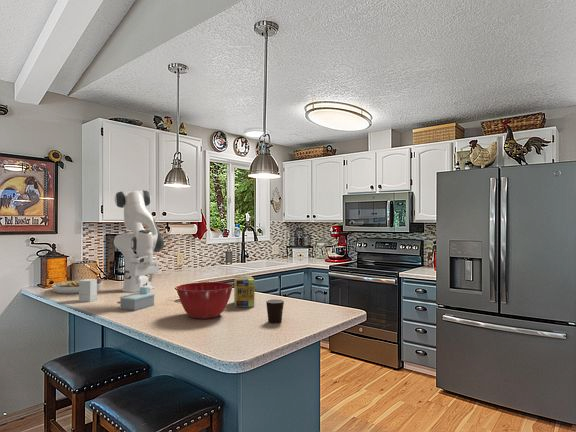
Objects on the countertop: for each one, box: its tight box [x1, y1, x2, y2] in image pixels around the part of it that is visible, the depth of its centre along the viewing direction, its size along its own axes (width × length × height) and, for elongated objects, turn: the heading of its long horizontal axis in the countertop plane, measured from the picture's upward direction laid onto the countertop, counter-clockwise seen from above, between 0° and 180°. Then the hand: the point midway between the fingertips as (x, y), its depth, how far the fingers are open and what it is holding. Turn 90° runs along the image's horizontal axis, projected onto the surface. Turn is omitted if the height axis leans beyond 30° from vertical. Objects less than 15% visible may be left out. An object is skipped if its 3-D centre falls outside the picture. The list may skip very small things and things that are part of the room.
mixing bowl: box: [176, 281, 234, 320], centre depth 201 cm, size 28×28×16 cm
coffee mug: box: [266, 298, 285, 325], centre depth 191 cm, size 12×9×10 cm
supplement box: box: [78, 278, 98, 303], centre depth 235 cm, size 7×7×13 cm
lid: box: [119, 287, 156, 300], centre depth 219 cm, size 16×11×4 cm
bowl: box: [51, 278, 103, 295], centre depth 269 cm, size 30×30×8 cm
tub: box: [119, 295, 155, 312], centre depth 219 cm, size 15×10×6 cm, turn 158°
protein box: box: [233, 275, 256, 309], centre depth 227 cm, size 10×15×16 cm
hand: (144, 282), depth 223 cm, fingers open, 8 cm apart
